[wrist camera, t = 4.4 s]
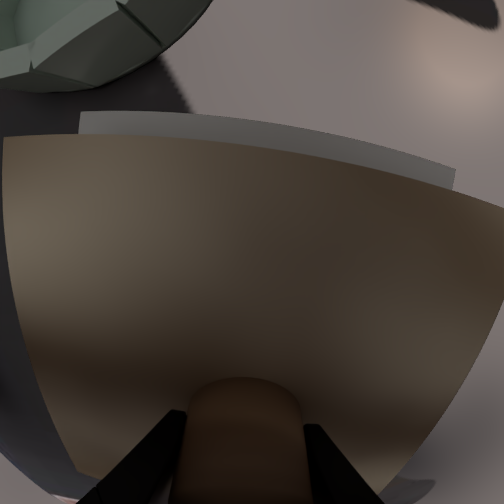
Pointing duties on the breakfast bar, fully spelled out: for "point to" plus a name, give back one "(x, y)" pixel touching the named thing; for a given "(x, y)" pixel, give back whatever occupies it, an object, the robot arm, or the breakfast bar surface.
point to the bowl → (86, 40)
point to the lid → (243, 304)
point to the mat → (266, 140)
